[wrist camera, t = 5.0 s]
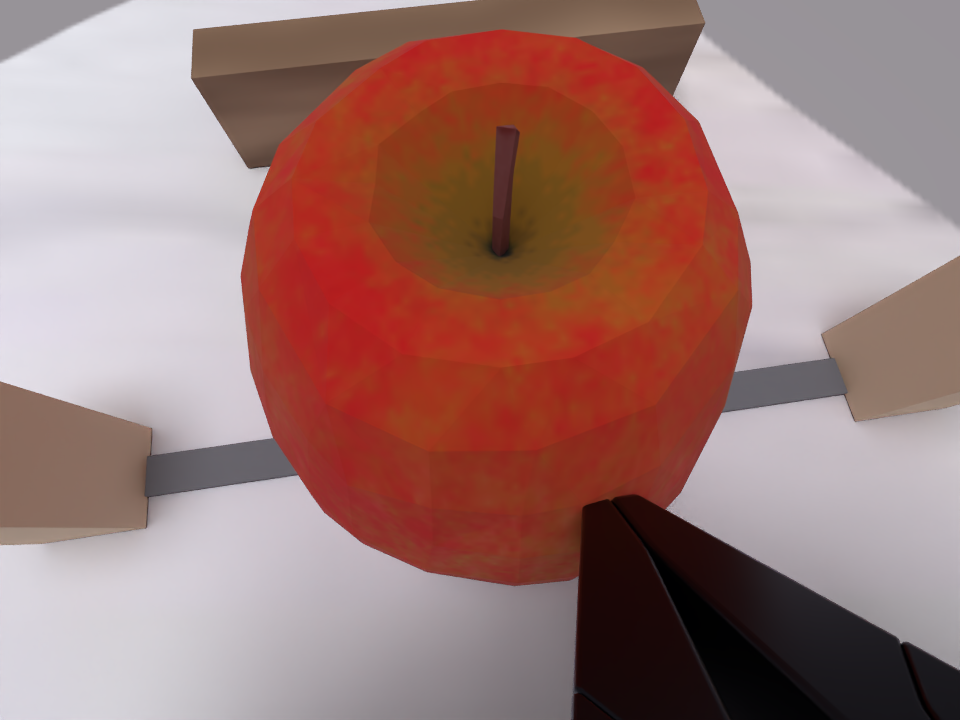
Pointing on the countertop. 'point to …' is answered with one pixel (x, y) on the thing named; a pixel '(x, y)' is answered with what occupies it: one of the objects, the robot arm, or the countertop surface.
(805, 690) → the robot arm
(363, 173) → the apple
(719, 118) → the countertop surface
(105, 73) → the countertop surface
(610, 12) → the batten
